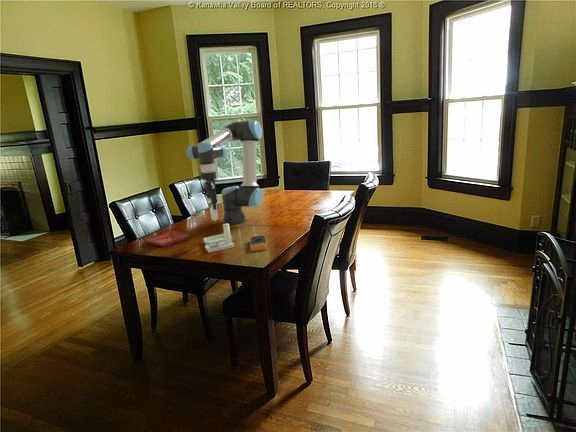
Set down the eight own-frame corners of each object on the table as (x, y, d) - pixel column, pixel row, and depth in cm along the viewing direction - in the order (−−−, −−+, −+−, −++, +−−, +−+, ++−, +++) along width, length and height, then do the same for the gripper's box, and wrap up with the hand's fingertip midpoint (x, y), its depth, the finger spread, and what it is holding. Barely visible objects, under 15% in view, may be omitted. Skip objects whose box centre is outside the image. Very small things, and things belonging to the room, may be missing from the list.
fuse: (230, 244, 204) (228, 223, 201) (232, 245, 201) (229, 224, 198) (224, 245, 203) (222, 224, 200) (226, 247, 200) (223, 225, 197)
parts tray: (227, 237, 217) (227, 233, 216) (233, 241, 208) (232, 237, 207) (203, 242, 211) (203, 238, 210) (208, 247, 202) (207, 242, 202)
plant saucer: (172, 235, 231) (171, 230, 231) (189, 239, 220) (189, 234, 219) (145, 244, 218) (144, 239, 217) (162, 249, 207) (161, 243, 206)
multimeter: (265, 239, 208) (265, 233, 207) (267, 250, 190) (267, 244, 189) (250, 241, 207) (249, 235, 206) (250, 252, 189) (250, 246, 189)
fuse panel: (230, 242, 206) (229, 239, 206) (234, 246, 199) (234, 243, 199) (205, 248, 201) (204, 245, 200) (208, 252, 194) (208, 249, 193)
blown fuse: (217, 217, 209) (214, 196, 206) (219, 219, 205) (216, 197, 202) (210, 219, 207) (207, 198, 204) (212, 220, 203) (209, 199, 200)
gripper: (197, 171, 205) (203, 212, 211) (205, 174, 190) (211, 218, 196) (211, 169, 208) (216, 210, 214) (219, 172, 193) (225, 216, 199)
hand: (214, 214), depth 205 cm, fingers closed on blown fuse, 4 cm apart
